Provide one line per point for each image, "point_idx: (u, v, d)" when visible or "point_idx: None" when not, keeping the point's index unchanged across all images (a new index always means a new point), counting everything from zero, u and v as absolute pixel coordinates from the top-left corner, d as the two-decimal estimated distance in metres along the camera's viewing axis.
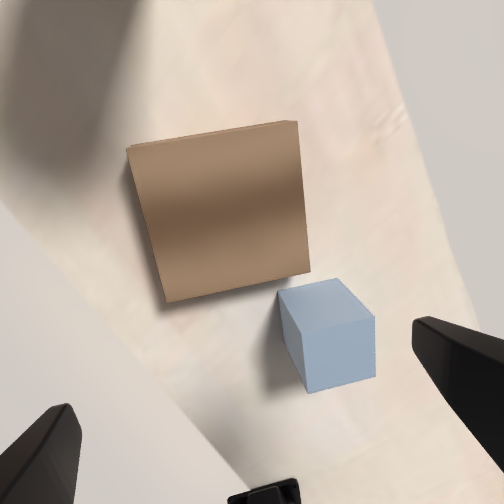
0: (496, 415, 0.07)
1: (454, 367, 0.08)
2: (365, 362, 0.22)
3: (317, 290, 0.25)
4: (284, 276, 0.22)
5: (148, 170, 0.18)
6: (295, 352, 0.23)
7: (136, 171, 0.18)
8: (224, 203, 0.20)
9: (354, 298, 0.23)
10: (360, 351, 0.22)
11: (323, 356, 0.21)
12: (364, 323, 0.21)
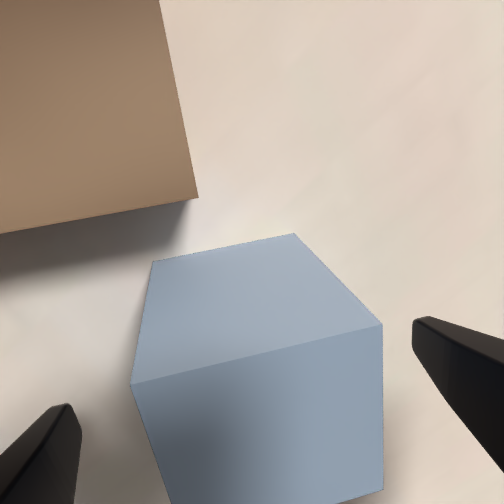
0: (496, 415, 0.07)
1: (454, 367, 0.08)
2: (354, 457, 0.08)
3: (240, 258, 0.10)
4: (119, 207, 0.08)
5: None
6: None
7: None
8: None
9: (325, 273, 0.09)
10: (339, 428, 0.07)
11: (222, 450, 0.07)
12: (349, 346, 0.07)
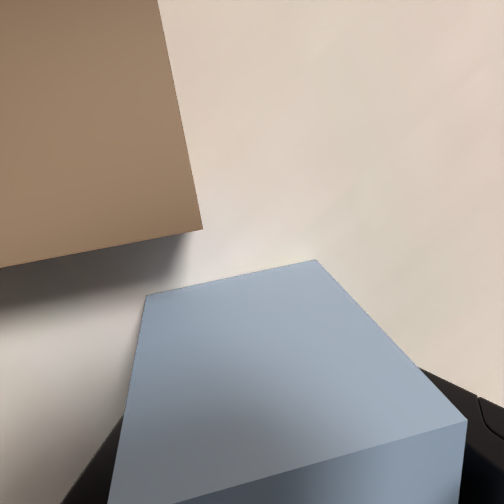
0: None
1: None
2: None
3: (254, 295, 0.08)
4: (98, 243, 0.06)
5: None
6: None
7: None
8: None
9: (367, 324, 0.07)
10: None
11: None
12: (419, 451, 0.05)
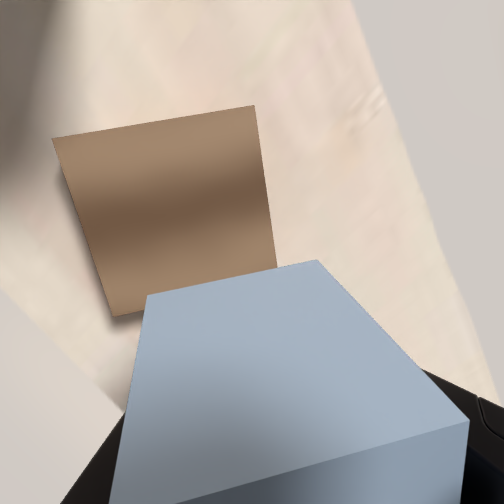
0: None
1: None
2: None
3: (255, 295, 0.08)
4: None
5: (80, 163, 0.16)
6: None
7: (66, 165, 0.16)
8: (173, 202, 0.17)
9: (368, 324, 0.07)
10: None
11: None
12: (421, 452, 0.05)
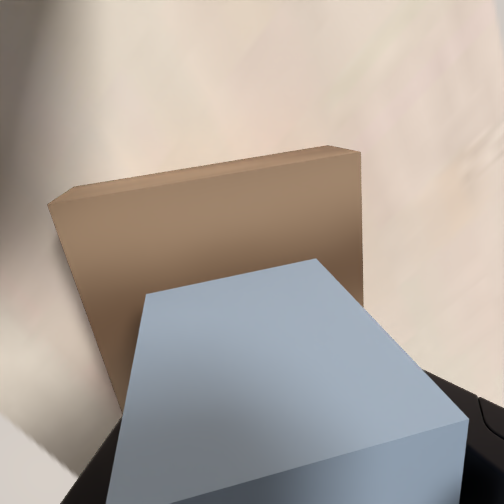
0: None
1: None
2: None
3: (254, 294, 0.08)
4: None
5: (92, 240, 0.10)
6: None
7: (70, 243, 0.10)
8: None
9: (367, 323, 0.07)
10: None
11: None
12: (420, 450, 0.05)
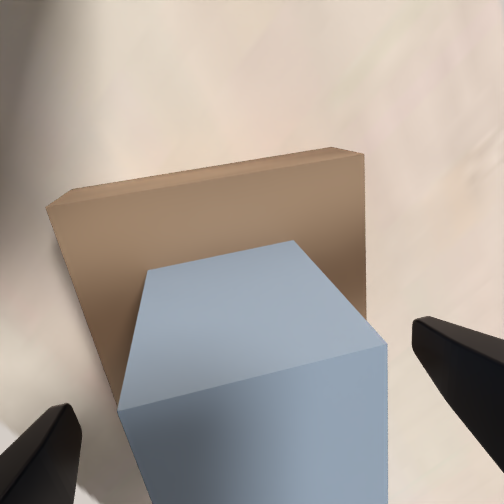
0: (496, 415, 0.07)
1: (454, 367, 0.08)
2: (358, 482, 0.07)
3: (238, 268, 0.10)
4: None
5: (90, 243, 0.10)
6: None
7: (68, 246, 0.10)
8: None
9: (327, 286, 0.08)
10: (341, 452, 0.07)
11: (217, 477, 0.06)
12: (351, 368, 0.06)
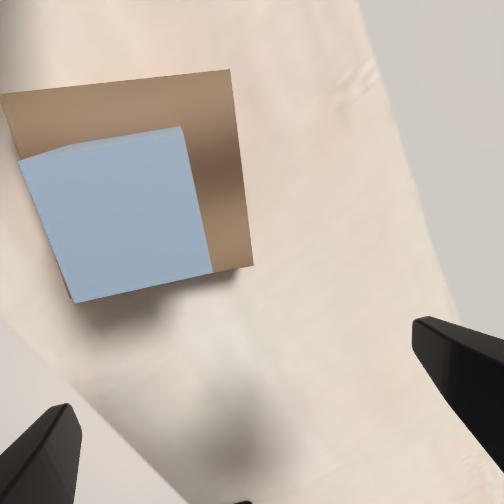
0: (496, 415, 0.07)
1: (454, 367, 0.08)
2: (185, 241, 0.11)
3: (131, 135, 0.14)
4: (220, 269, 0.18)
5: (31, 124, 0.14)
6: None
7: (15, 125, 0.14)
8: None
9: (177, 130, 0.12)
10: (169, 214, 0.11)
11: (87, 221, 0.11)
12: (163, 148, 0.10)
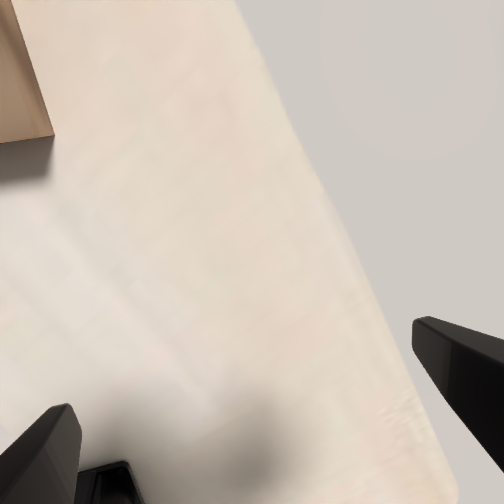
0: (496, 415, 0.07)
1: (454, 367, 0.08)
2: None
3: None
4: None
5: None
6: None
7: None
8: None
9: None
10: None
11: None
12: None
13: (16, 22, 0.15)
